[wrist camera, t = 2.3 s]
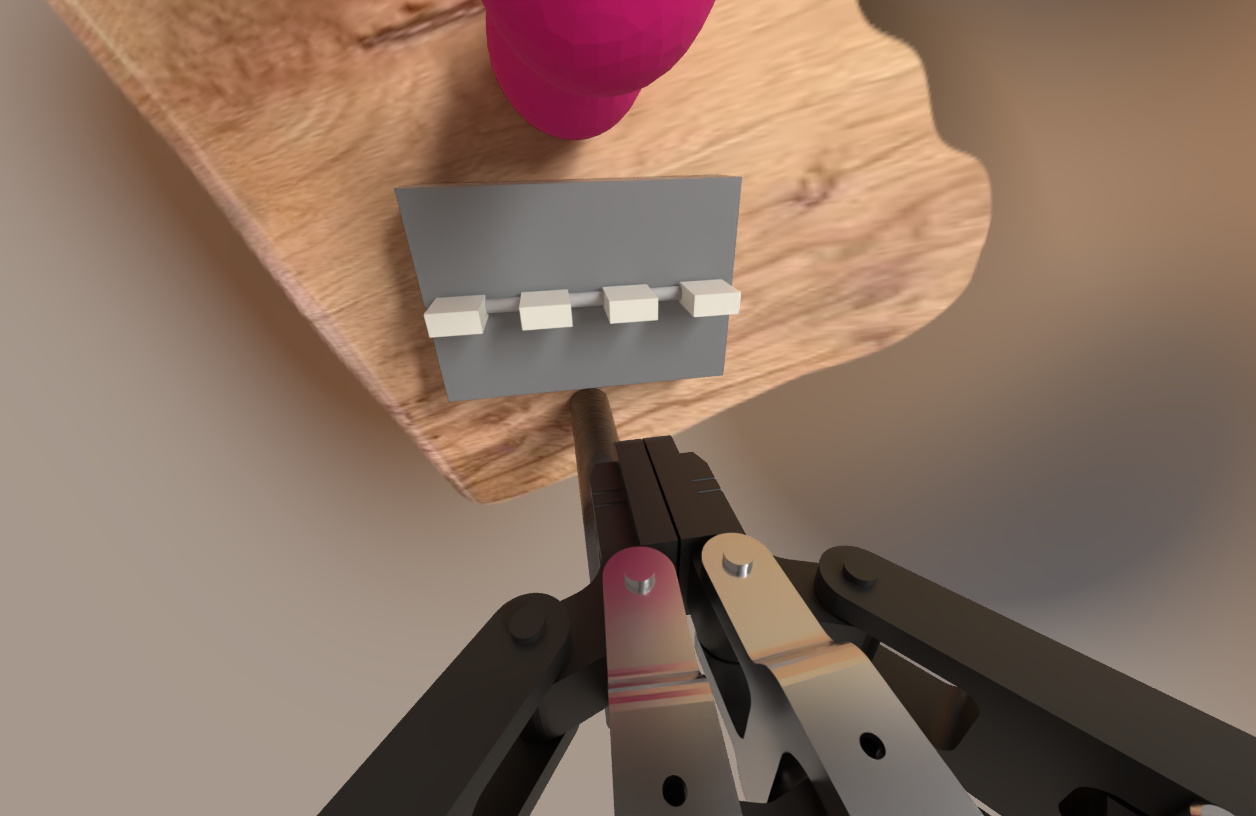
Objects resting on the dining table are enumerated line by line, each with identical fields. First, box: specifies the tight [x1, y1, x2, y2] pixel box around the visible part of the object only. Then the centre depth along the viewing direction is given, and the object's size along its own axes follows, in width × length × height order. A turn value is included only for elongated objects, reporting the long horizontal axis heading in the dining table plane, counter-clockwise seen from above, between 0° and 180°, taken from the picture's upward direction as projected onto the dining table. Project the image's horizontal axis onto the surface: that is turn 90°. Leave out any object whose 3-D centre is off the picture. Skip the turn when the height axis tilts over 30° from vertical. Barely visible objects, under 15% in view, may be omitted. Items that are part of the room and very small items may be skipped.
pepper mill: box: [482, 0, 715, 140], centre depth 15 cm, size 7×7×20 cm
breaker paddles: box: [424, 279, 741, 338], centre depth 24 cm, size 1×16×3 cm, turn 91°
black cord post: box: [570, 388, 619, 728], centre depth 25 cm, size 3×3×22 cm
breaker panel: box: [394, 175, 742, 402], centre depth 28 cm, size 12×18×4 cm, turn 91°
